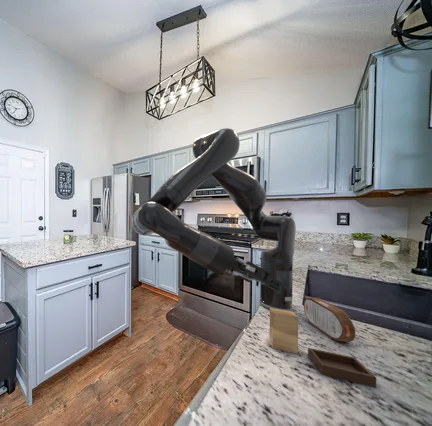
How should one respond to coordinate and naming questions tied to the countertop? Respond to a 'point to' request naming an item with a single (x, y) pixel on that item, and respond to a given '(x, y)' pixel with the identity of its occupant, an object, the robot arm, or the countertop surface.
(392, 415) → the countertop surface
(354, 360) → the frame
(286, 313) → the block
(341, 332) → the tin
